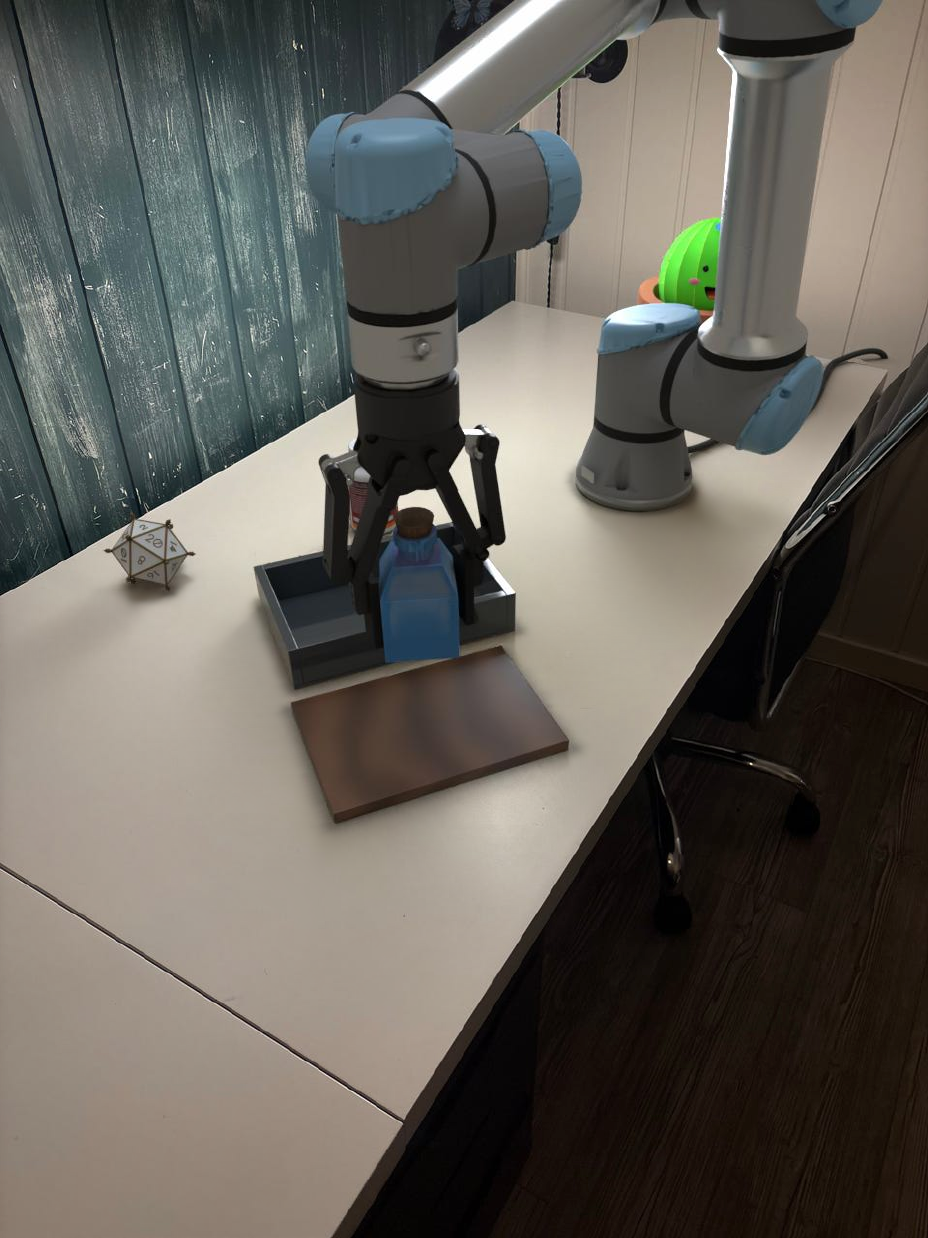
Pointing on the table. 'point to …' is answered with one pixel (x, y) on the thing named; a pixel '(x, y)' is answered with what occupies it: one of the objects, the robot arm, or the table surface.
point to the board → (423, 731)
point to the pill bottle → (363, 496)
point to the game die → (149, 552)
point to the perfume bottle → (418, 592)
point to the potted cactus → (688, 270)
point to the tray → (354, 614)
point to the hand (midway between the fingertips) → (420, 627)
